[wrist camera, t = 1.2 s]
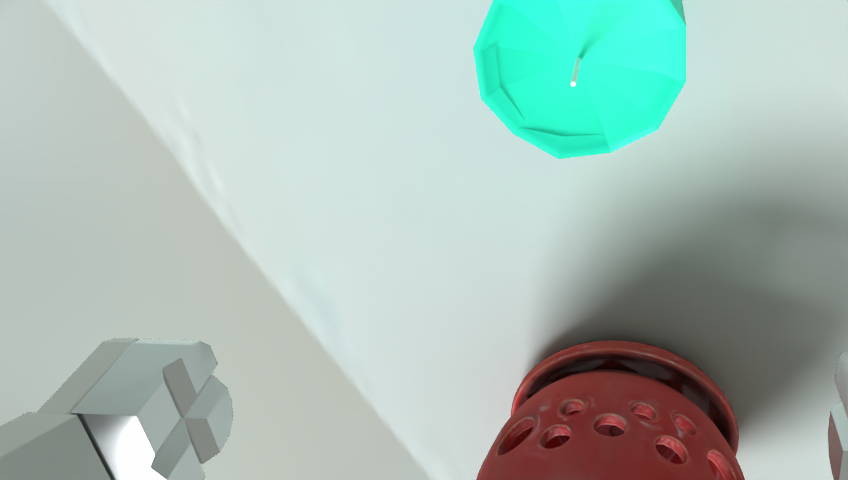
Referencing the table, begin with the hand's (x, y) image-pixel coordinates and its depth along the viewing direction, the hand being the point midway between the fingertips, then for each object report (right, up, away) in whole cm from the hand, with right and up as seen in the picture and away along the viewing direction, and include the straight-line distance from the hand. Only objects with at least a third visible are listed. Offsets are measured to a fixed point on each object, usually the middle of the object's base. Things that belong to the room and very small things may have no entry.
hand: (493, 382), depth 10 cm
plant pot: (+9, -7, +32) cm, 34 cm away
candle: (+6, +12, +20) cm, 24 cm away
